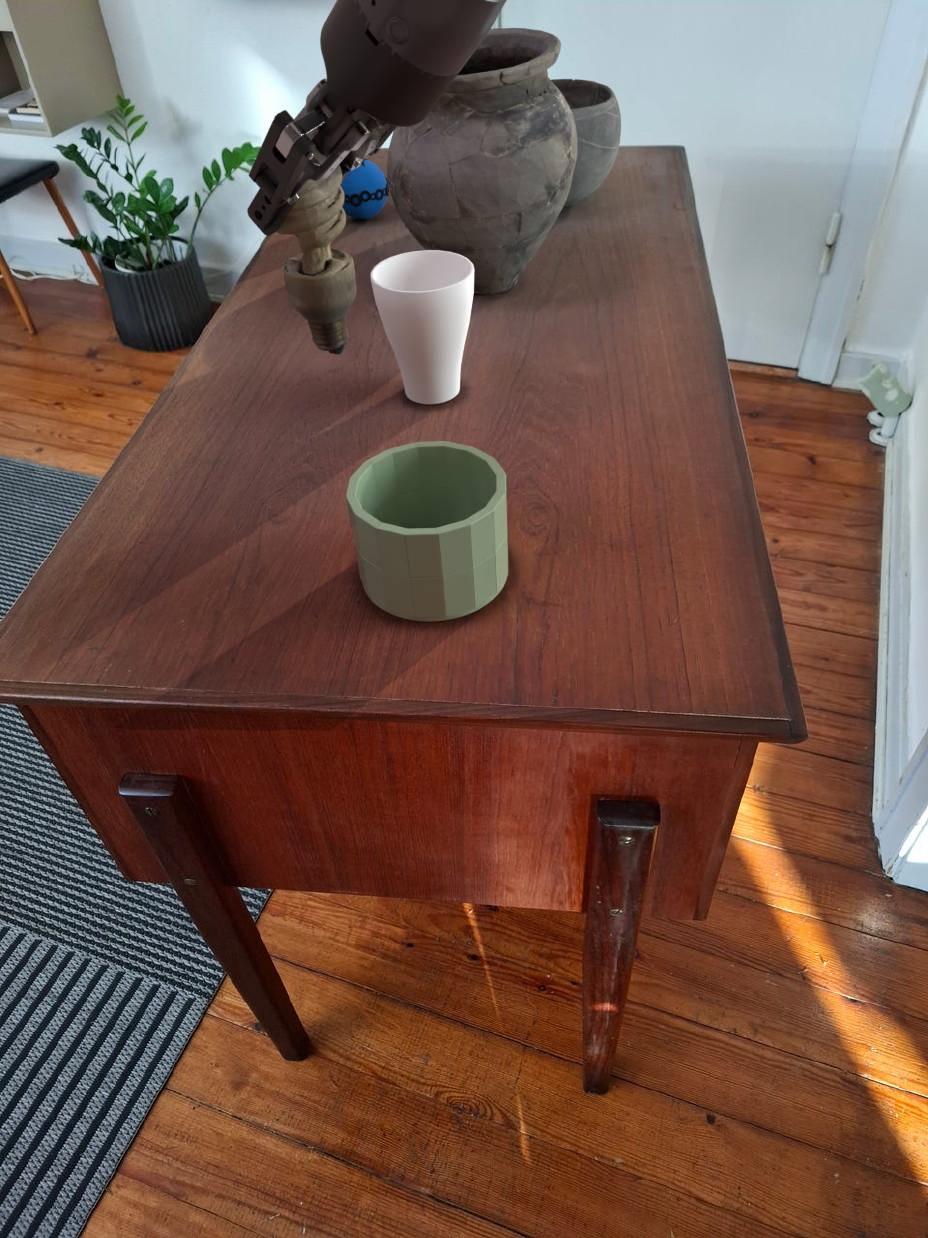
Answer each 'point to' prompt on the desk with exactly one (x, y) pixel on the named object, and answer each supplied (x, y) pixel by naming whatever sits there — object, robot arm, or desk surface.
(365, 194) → the ornament
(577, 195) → the bowl
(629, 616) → the desk surface
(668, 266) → the desk surface
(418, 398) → the cup
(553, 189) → the clay pot
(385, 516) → the pot
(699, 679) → the desk surface
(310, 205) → the light bulb
